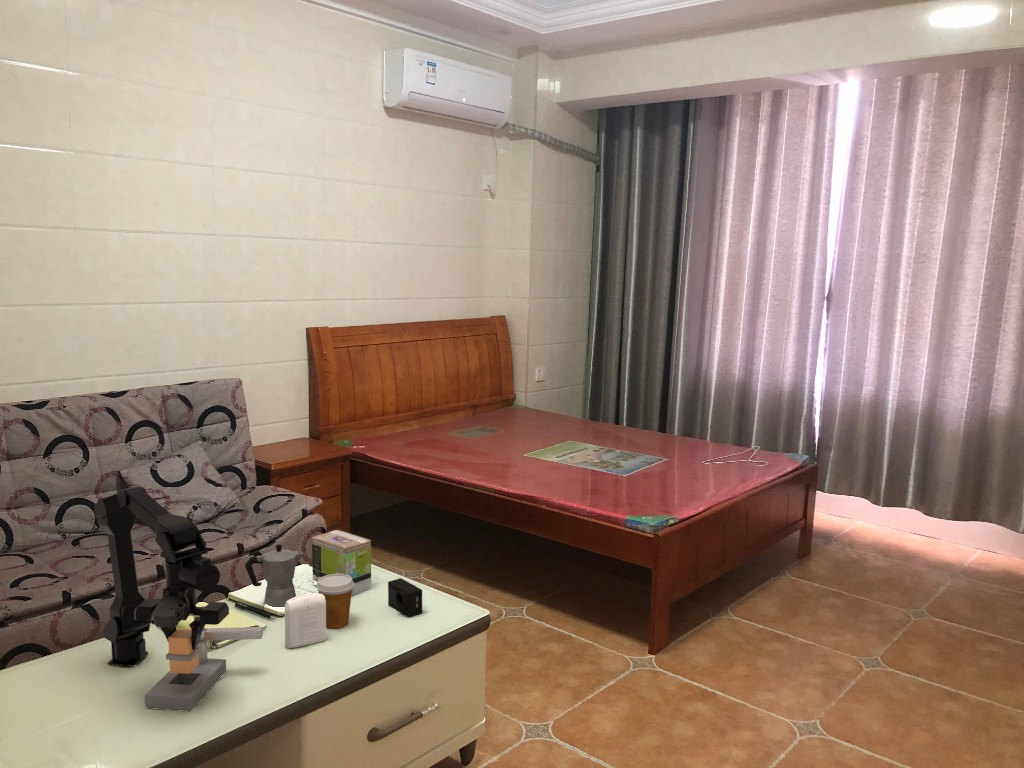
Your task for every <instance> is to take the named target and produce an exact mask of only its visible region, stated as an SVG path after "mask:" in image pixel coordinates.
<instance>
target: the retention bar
mask: <svg viewBox="0 0 1024 768" xmlns="http://www.w3.org/2000/svg"><path fill="white" fill-rule="evenodd" d="M263 630H264V627H263V626H246V627H245V626H244V627H243V626H242V627H241V626H239V627H211V628H210V627H207V628H206V627H204V629H203V631H202V634H201V637H200V639H199V642H201V641H207V642H208V641H210V642H211V641H239V640H240V641H242V640H262V638H263V636H264V631H263Z"/></svg>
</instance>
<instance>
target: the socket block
mask: <svg viewBox="0 0 1024 768" xmlns="http://www.w3.org/2000/svg"><path fill="white" fill-rule="evenodd" d="M207 642H208V641H201V642H198V645H202V650H201V651H200V652H199V665H198V666H197V667H196V668H195V669H194V670H193V671H192V672H191V673H190V674H184V673H170V670H168V671H167V672H166V673H165V675H163V677H162V678H161V679H159V681H157V682H156V683H155V684H154V685H153V686H152V687H151V688H150V689H149V691H147V692H146V693H145V694H144V703H145V706H144V707H145V708H146V707H147V708H146V709H150V708H158V709H157V710H164V709H170V710H169V711H178V710H183V711H182V712H192V711H193V710H194V709H195V708H196V707H197V706H198V704H199V703H200V702H201V701H202V700H203V699H202V698H203V697H204V698H205V696H206V695H207V694H208V693H209V692H210V691H211V690H212V689H211V687H212V686H213V685H214V684H215V683H216V682H217V681H218V680H219V681H220V679H221V678H222V677H223V676H224V675H225V674H226V673H227V659H226V658H212V657H208V643H207ZM225 672H226V673H225ZM224 673H225V674H224ZM223 674H224V675H223ZM222 675H223V676H222ZM221 676H222V677H221ZM220 677H221V678H220ZM219 681H218V682H219ZM218 682H217V683H218ZM217 683H216V684H217ZM216 684H215V685H216ZM215 685H214V686H215ZM214 686H213V687H214ZM213 687H212V688H213ZM210 689H211V690H210ZM209 690H210V691H209ZM208 691H209V692H208ZM207 692H208V693H207ZM201 699H202V700H201ZM200 700H201V701H200ZM198 702H199V703H198ZM195 706H196V707H195ZM194 707H195V708H194ZM193 708H194V709H193ZM192 709H193V710H192ZM186 710H187V711H186ZM191 710H192V711H191Z"/></svg>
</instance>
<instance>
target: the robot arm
mask: <svg viewBox="0 0 1024 768" xmlns="http://www.w3.org/2000/svg"><path fill="white" fill-rule="evenodd" d="M93 513H94V516H95V517H96V520H97V525H98V526H99V528H100V529H102V530H103V532H104V533H105V534H106V535H107V542H108V547H109V548H108V549H109V556H110V564H111V569H112V576H113V577H112V578H113V586H114V593H115V596H114V599H113V601H112V602H111V605H110V608H109V619H108V621H107V623H106V624H105V625H104V627H103V628H102V632H103V637H104V639H105V640H107V641H109V642H110V645H111V660H109V661H108V662H107V665H109V666H121V667H123V666H124V667H135V666H136V665H138V664H139V663H140V662H141V661H142V660H144V658H146V657H147V656H148V655H149V651H147V646H146V643H147V642H146V639H145V637H144V633H148V632H149V631H150V628H151V625H155V627H157V628H160V629H161V631H162V633H163V634H164V636H165V639H166V641H167V643H168V644H169V642H168V637H169V636H171V635H172V634H173V633H174V632H175V631H176V630H177V626H178V624H179V623H180V622H181V621H187V619H188V618H189V617H193V620H192V622H190V623H189V624H188V627H189V629H192V650H195V649H196V647H197V645H198V642H199V639H200V637H201V634H202V631H203V629H204V628H206V626H207V625H212V626H216V625H217V626H218V625H219V624H220V623H221V622H223V621H224V619H226V617H228V615H229V614H230V607H229V604H228V603H227V602H225V601H224V602H223V601H210V602H208V604H206V605H204V606H203V605H202V606H197V604H199V597H196V590H197V591H199V592H202V593H207V592H208V593H209V592H211V591H212V590H214V589H215V588H216V586H217V585H218V584H219V582H220V580H221V579H220V578H221V571H220V570H219V568H218V566H216V565H214V564H212V560H211V558H209V557H205V556H203V555H206V554H208V552H209V550H208V548H207V542H206V541H205V539H204V538H203V536H202V535H201V532H200V530H199V528H198V526H197V525H196V523H194V522H193V521H192V520H190V519H189V518H188V517H185V516H182V515H177V514H172V513H171V512H170V511H168V510H167V509H166V508H165V507H164V506H162V505H161V504H160V503H159V502H158V501H157V500H156V499H154V498H153V497H152V496H150V494H148V493H147V490H146V488H144V487H143V486H140V485H138V486H133V487H128V488H124V489H121V490H120V491H118V492H116V493H115V494H112V495H108V496H105V497H100V498H98V499H97V502H96V503H95V504H94V506H93ZM137 519H139V520H140V521H141V522H142V523H143V524H145V525H146V527H148V528H149V529H150V530H152V532H153V533H154V535H155V536H154V538H155V539H154V541H155V542H156V544H157V546H159V548H160V550H161V551H162V552H161V553H160V554H159V556H160V557H161V558H163V559H164V566H165V569H164V570H165V583H166V584H165V585H166V586H165V587H164V588H163V589H162V596H161V597H162V598H152V597H151V598H150V597H148V598H145V597H144V596H143V595H142V594H141V593H140V591H139V582H138V575H137V569H136V561H135V554H134V552H135V551H134V546H133V539H132V530H133V527H134V525H135V524H136V520H137ZM194 546H195V547H194ZM191 547H192V548H191ZM189 548H190V549H189ZM184 549H185V550H184Z"/></svg>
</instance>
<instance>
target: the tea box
mask: <svg viewBox="0 0 1024 768" xmlns="http://www.w3.org/2000/svg"><path fill="white" fill-rule="evenodd" d="M311 556H312V557H311V558H312V561H311V562H312V563H311V565H312V581H313V580H314V581H316V582H318V580H319V579H320V578H321V577H323V576H326V575H330V574H345V575H348V576H350V577H351V578H352V580H353V582H354V586H353V588H352V595H351V597H353V596H356V595H357V594H360V593H364V592H365V591H368V590H370V589H372V540H371V539H369V538H366V537H362V536H360V535H356V534H353V533H350V532H346V531H343V530H340V529H336V530H335V529H334V530H332V531H329V532H325V533H321V534H319V535H315V536H312V537H311Z"/></svg>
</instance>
